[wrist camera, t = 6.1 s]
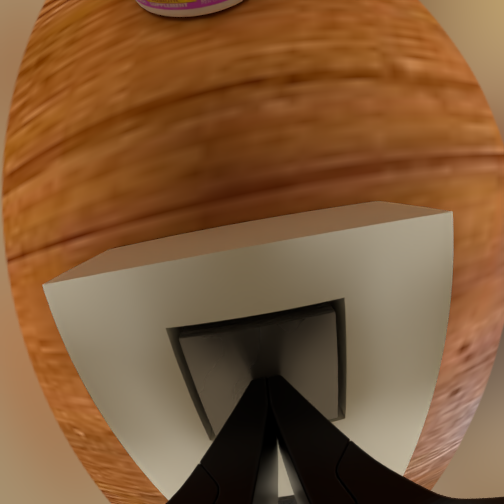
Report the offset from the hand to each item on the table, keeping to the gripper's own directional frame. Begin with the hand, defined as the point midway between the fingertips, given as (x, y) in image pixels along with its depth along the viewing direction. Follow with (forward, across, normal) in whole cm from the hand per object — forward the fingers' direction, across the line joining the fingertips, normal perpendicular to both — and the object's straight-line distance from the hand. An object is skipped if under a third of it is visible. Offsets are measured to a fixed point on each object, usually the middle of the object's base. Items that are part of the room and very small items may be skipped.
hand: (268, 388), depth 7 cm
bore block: (+5, 0, +5) cm, 7 cm away
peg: (+5, 0, 0) cm, 5 cm away
